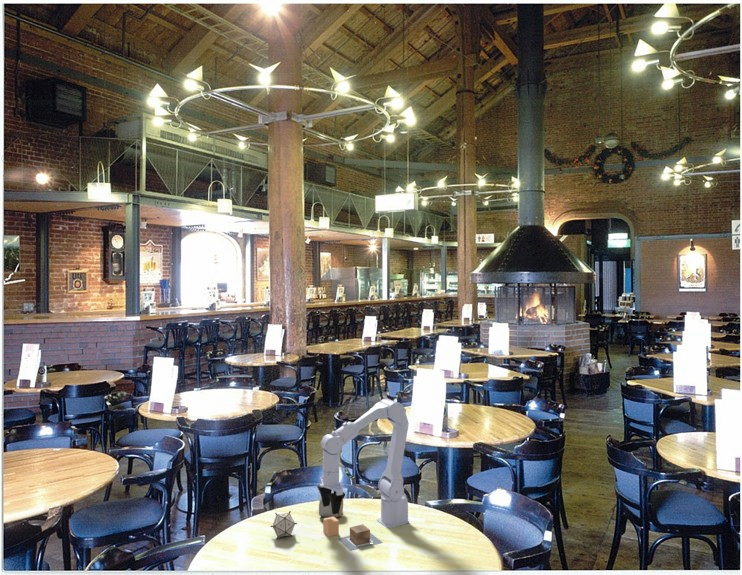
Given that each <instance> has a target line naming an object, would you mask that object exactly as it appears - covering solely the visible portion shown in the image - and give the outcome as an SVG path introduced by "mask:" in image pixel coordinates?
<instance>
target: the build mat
mask: <svg viewBox="0 0 742 575" xmlns="http://www.w3.org/2000/svg"><path fill="white" fill-rule="evenodd" d="M337 541H339V542H341V544H342V545H343V546H345V547H346V548H347V550H349V551H350V552H352V551H356V550H360V549H365V548H368V547H371V546H376V545H379V544H383V543H384V542H383V541H382V540H380V539H379V538H378V537H377V536H375V534H373V533H371V532H370V542H368V543H364V544H360V545H356V544H355V543H354V542H352V541H351V540H350V535H348V536H347V535H346V536H343V537H339V538H337ZM370 543H373V544H370Z"/></svg>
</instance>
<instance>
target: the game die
mask: <svg viewBox="0 0 742 575" xmlns="http://www.w3.org/2000/svg"><path fill="white" fill-rule="evenodd" d="M291 511H292V510H289V512H287V513H279V514H278V512H275V513H274V514H275V518H274V521H273V523H272V525H270V526H269V527H270V528H272V530H274V533H275V535H276V536H277V537H276V540H278V539H279V538H280V537H282V538H283V537H288V536H290V538H291V537H293V535H292V534H293V530H294V527H295V525H297V524H298V522H296V521H294V518H293V517H292V515H291Z"/></svg>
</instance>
